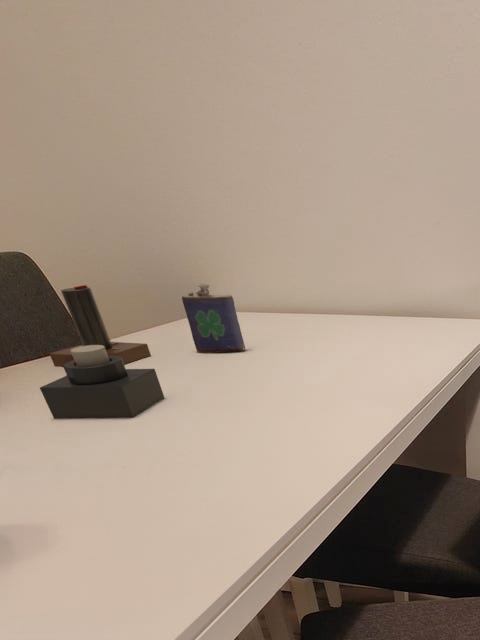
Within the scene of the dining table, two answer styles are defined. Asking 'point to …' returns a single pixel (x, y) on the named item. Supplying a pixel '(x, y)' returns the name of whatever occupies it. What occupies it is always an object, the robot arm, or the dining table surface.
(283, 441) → the dining table surface
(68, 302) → the black tall block
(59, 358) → the brown wooden flat block
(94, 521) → the dining table surface
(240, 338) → the flask
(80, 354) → the white short cylinder
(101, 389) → the button base
